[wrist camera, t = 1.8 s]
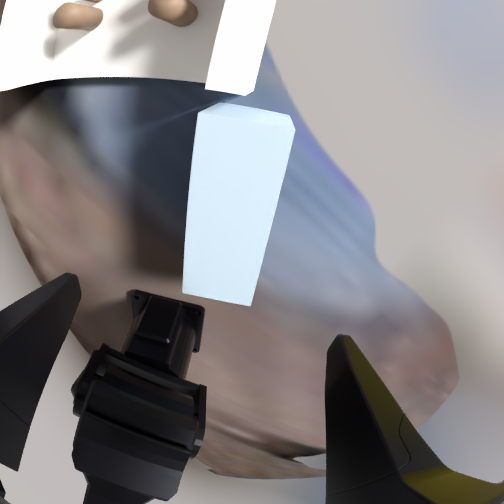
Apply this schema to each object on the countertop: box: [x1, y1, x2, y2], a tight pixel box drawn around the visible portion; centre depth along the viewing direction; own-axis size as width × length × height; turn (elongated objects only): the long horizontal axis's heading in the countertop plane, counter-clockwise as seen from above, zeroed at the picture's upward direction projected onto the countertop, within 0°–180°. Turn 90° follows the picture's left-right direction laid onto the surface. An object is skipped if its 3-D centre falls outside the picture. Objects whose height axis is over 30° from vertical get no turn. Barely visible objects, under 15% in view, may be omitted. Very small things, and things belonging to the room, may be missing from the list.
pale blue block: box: [183, 102, 295, 306], centre depth 16 cm, size 10×4×5 cm, turn 169°
